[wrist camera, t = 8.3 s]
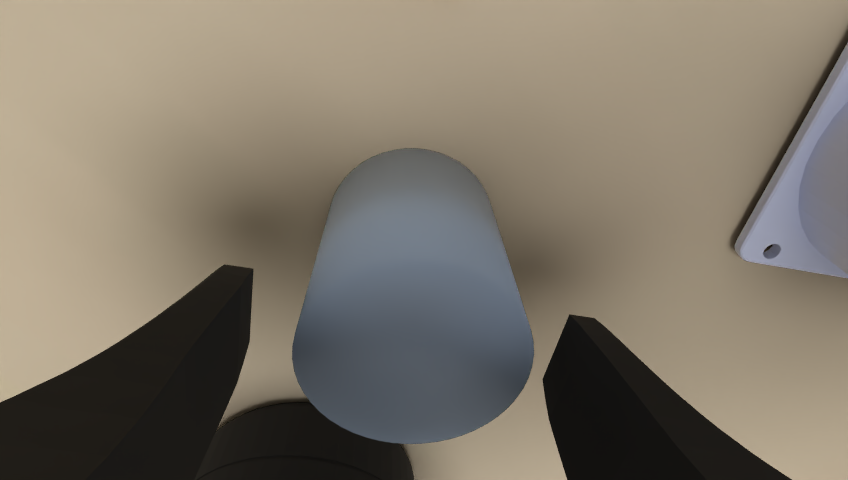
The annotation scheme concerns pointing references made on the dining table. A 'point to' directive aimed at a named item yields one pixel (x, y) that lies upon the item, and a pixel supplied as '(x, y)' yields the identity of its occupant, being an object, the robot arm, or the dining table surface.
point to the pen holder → (298, 449)
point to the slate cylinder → (412, 305)
